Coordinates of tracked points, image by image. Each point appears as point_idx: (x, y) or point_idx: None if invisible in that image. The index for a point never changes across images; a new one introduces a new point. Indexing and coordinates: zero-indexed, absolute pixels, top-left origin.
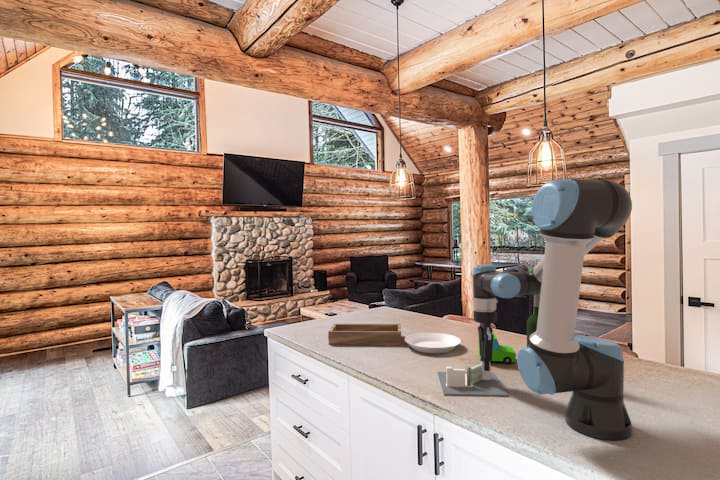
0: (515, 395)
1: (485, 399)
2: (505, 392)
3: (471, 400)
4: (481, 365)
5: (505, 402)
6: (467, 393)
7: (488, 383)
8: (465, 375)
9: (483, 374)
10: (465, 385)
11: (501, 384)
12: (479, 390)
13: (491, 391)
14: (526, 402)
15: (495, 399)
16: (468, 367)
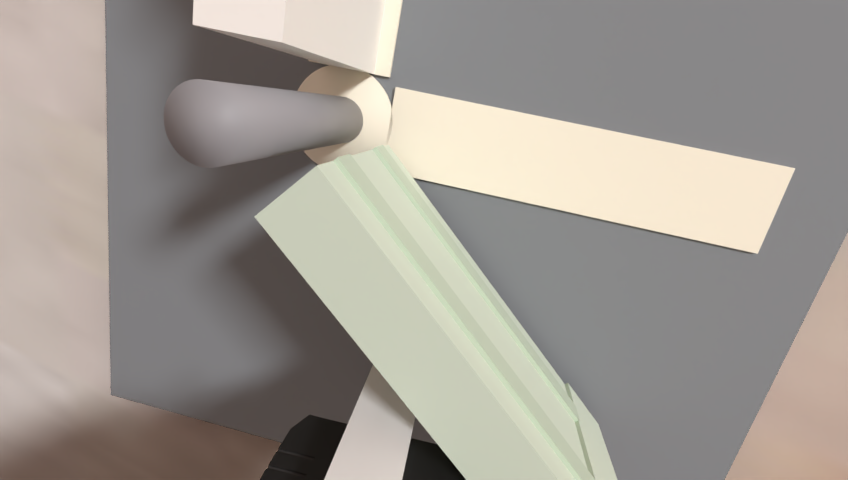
0: (147, 444)
1: (52, 166)
2: (160, 397)
3: (15, 11)
4: (454, 462)
5: (12, 305)
6: (123, 12)
7: None
8: (687, 210)
9: (372, 370)
10: (344, 74)
11: None
12: (205, 185)
13: (180, 292)
14: (30, 447)
15: (60, 255)
16: (213, 124)
